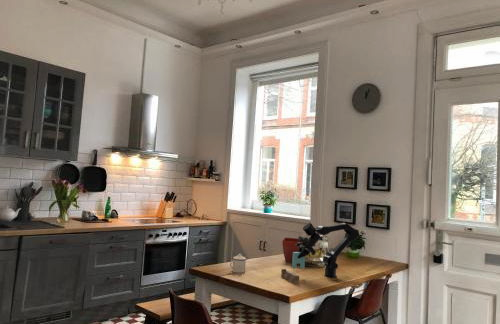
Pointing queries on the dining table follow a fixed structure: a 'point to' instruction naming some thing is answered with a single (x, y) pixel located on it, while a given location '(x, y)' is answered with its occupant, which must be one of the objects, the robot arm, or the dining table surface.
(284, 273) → the walnut rail
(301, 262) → the teal notched plate
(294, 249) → the plant pot
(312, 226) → the robot arm
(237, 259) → the teacup with lid
